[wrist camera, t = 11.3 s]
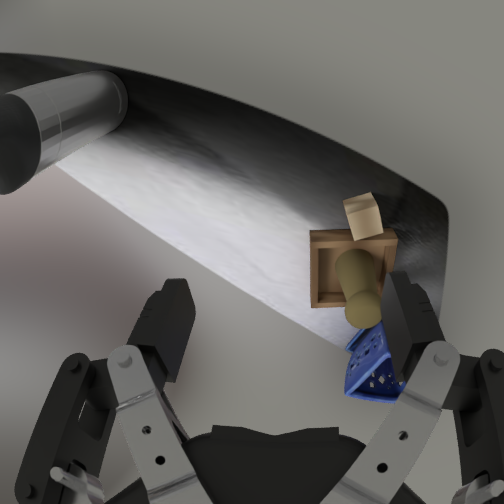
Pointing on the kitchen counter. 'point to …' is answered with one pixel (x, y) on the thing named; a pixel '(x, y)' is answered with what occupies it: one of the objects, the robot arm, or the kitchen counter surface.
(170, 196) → the kitchen counter surface
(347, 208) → the beech block
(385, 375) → the flower pot
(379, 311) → the cork
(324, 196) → the kitchen counter surface
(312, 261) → the tray
